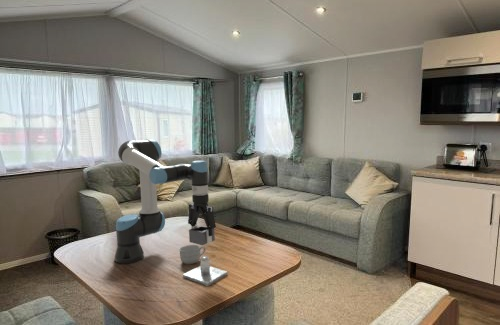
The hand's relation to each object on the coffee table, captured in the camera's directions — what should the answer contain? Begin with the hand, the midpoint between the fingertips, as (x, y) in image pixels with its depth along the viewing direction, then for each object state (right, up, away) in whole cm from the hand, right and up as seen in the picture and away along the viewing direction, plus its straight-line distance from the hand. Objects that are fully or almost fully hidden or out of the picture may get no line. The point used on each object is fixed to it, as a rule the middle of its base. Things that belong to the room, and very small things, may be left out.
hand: (202, 240), depth 160 cm
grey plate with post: (+1, -18, +3) cm, 18 cm away
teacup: (-8, -16, +20) cm, 27 cm away
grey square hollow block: (0, 0, 0) cm, 0 cm away
